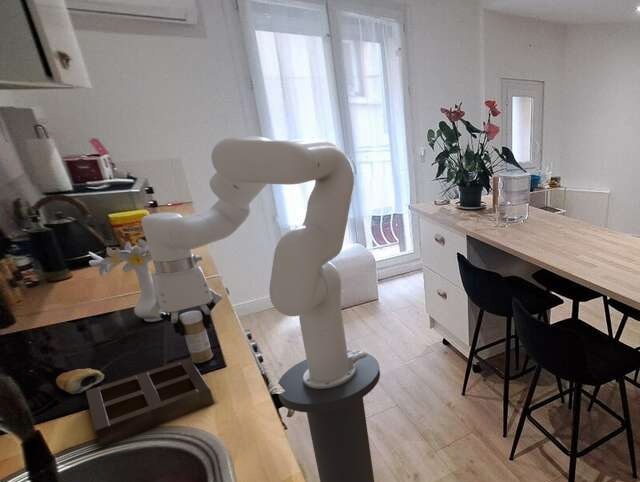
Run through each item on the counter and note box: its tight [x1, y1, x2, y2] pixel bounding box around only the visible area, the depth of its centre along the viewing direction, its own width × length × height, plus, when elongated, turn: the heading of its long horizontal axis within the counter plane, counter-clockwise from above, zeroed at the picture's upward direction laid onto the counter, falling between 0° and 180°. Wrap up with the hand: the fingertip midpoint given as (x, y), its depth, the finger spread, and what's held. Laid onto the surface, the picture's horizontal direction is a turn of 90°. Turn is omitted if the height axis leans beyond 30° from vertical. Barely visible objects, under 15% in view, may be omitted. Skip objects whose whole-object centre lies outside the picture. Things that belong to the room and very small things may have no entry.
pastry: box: [55, 367, 105, 395], centre depth 96 cm, size 9×7×4 cm
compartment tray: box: [85, 357, 215, 448], centre depth 90 cm, size 18×18×4 cm
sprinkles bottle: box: [178, 310, 214, 364], centre depth 106 cm, size 5×5×13 cm
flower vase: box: [88, 238, 169, 323], centre depth 124 cm, size 13×18×25 cm
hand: (194, 330), depth 105 cm, fingers closed on sprinkles bottle, 4 cm apart
